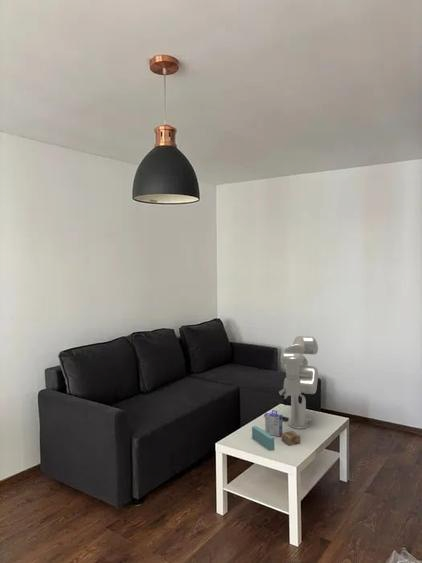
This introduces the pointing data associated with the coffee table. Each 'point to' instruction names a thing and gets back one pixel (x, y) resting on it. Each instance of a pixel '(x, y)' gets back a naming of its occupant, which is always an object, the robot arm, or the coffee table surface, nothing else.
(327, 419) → the coffee table surface
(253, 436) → the teal plank
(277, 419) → the ink cartridge box
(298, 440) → the walnut block
